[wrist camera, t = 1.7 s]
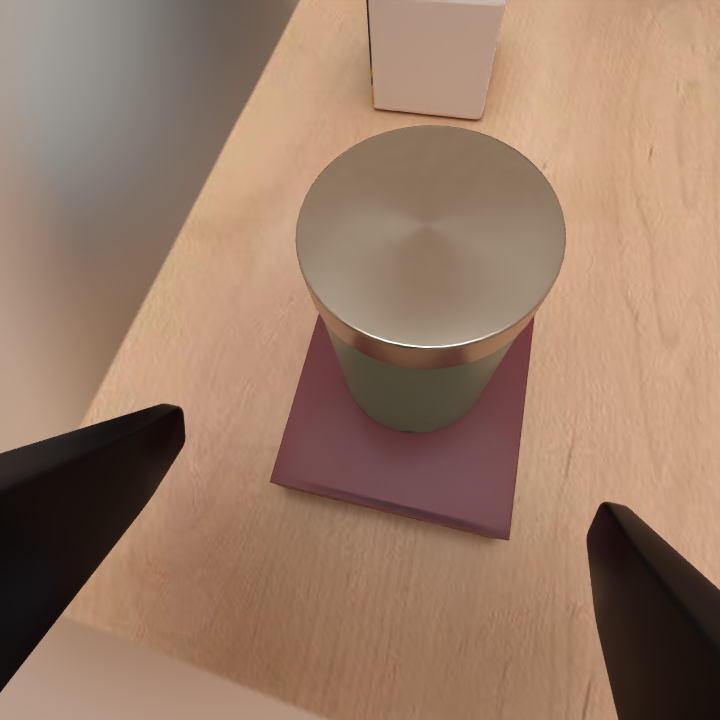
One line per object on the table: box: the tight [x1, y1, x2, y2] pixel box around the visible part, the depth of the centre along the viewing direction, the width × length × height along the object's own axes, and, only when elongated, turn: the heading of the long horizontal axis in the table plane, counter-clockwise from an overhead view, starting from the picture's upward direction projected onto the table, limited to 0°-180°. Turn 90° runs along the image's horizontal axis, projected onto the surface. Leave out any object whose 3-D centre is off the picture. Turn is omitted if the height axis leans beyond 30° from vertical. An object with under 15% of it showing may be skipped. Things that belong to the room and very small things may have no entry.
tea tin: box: [296, 125, 566, 433], centre depth 16 cm, size 7×7×10 cm
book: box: [270, 314, 534, 540], centre depth 21 cm, size 13×10×2 cm
